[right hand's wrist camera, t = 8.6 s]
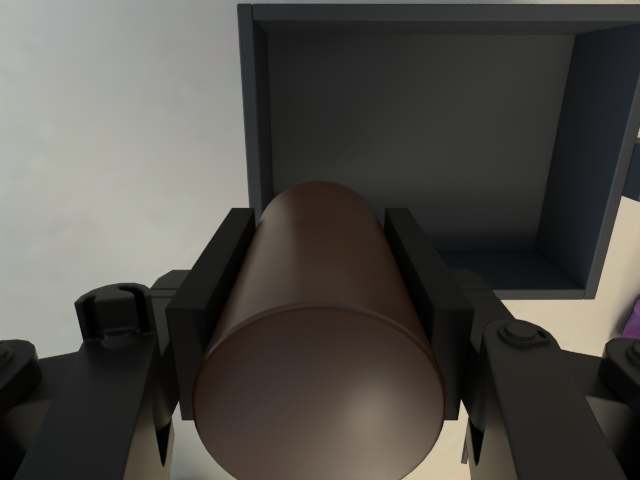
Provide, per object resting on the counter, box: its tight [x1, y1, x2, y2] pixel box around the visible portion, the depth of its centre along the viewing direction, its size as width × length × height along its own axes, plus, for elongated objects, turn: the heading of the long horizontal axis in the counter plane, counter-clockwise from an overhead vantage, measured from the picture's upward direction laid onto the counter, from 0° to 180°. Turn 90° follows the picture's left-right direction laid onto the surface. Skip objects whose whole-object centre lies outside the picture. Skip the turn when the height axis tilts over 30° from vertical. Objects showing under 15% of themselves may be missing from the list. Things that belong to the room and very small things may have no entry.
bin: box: [237, 4, 640, 300], centre depth 21 cm, size 30×13×7 cm, turn 90°
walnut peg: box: [191, 181, 447, 480], centre depth 11 cm, size 4×4×8 cm
